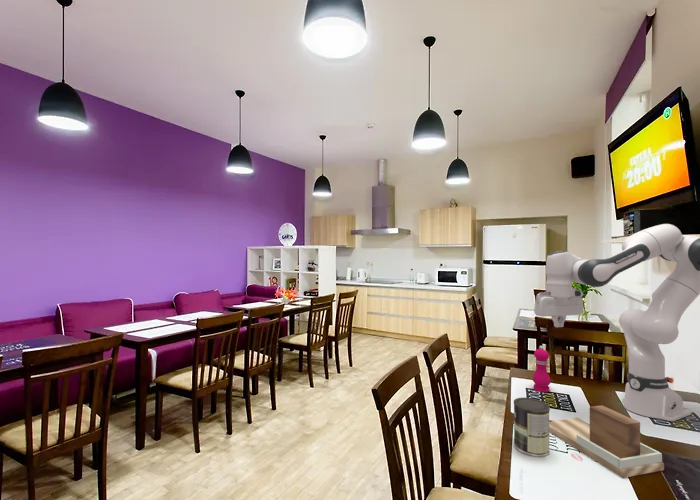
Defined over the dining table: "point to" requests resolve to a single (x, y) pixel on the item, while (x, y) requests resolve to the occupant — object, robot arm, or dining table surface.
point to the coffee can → (531, 426)
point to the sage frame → (623, 463)
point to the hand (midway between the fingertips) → (558, 326)
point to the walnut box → (614, 432)
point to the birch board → (569, 432)
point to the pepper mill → (541, 370)
